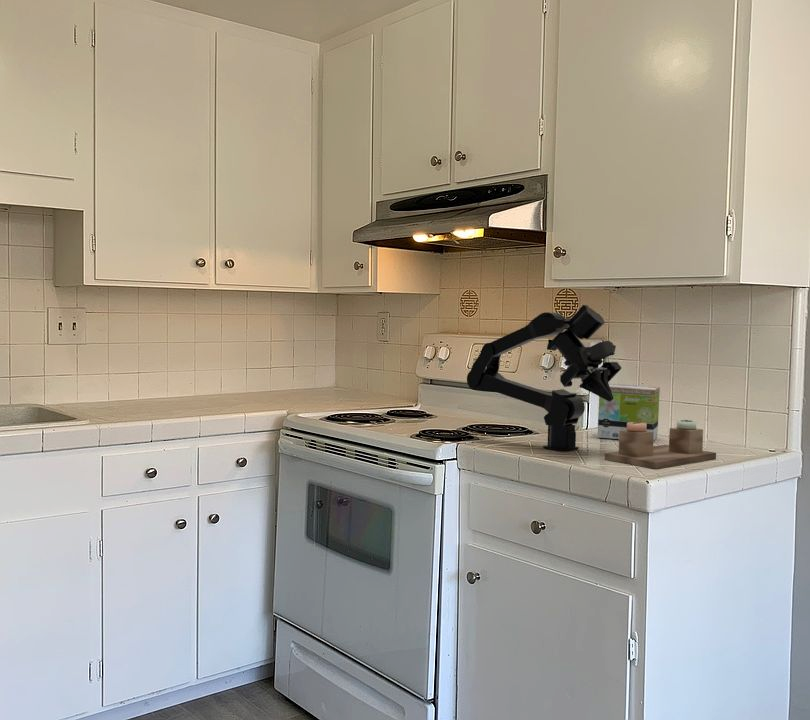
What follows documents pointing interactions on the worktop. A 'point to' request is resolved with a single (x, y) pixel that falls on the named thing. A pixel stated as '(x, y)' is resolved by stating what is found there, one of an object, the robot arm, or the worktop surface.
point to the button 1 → (636, 426)
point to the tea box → (628, 409)
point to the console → (660, 449)
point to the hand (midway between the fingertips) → (611, 400)
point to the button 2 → (686, 424)
